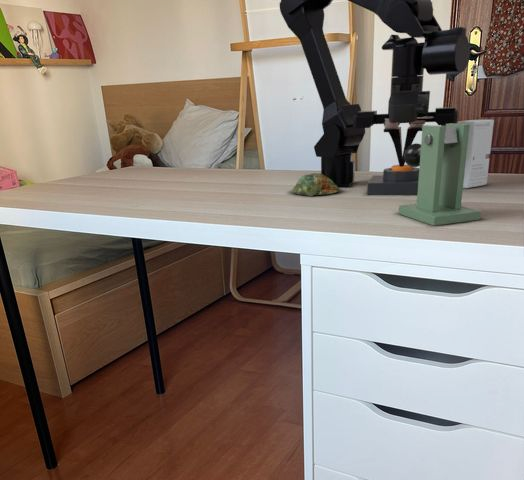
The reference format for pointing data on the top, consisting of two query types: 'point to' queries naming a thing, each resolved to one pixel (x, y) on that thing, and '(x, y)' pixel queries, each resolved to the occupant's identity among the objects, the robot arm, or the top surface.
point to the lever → (415, 149)
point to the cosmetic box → (478, 152)
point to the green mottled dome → (315, 185)
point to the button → (401, 168)
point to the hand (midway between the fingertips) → (401, 166)
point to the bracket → (441, 179)
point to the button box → (394, 183)
